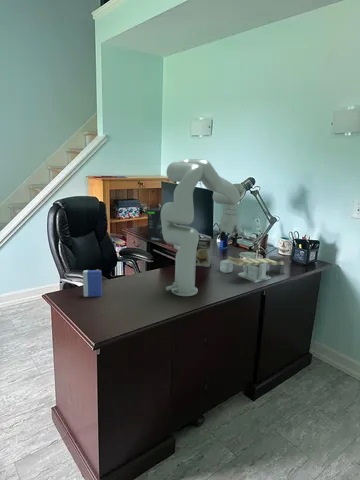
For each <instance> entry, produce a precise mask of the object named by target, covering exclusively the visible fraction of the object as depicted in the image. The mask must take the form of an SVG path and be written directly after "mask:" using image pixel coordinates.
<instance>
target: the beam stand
mask: <svg viewBox="0 0 360 480" xmlns="http://www.w3.org/2000/svg"><path fill="white" fill-rule="evenodd" d="M245 259H251V258H250V257H245ZM267 266H268V267H269V269H268V271H270V272H273V273H275V274H278V275H282V274H284V272H285V264H284V265H267V264H265V263H262V264H260V266H258V265H243V271H242V272H238V273H237V276H238V277H241V278H243V279H245V280H248V281H250V282H253V283H255V284H256V283H259V282H260V283H261V282H263V281H264V282H265V281H267V280H271V278H272V277H271V276H270V275H269V274H268V275H267V274H266V273H267Z"/></svg>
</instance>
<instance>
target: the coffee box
mask: <svg viewBox="0 0 360 480" xmlns="http://www.w3.org/2000/svg"><path fill="white" fill-rule="evenodd" d="M212 245H213V238H208V237H207V238H206V237H199V241H198V245H197V250H196V266H198V267H206V268H209V267H210V266H211V260H212V259H211V258H212Z"/></svg>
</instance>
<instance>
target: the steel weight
mask: <svg viewBox="0 0 360 480" xmlns="http://www.w3.org/2000/svg"><path fill="white" fill-rule="evenodd" d="M227 260H228V259H223V260H220V263H219V272H222V273H224V274H228V273H233V268H234V264H233V263H230V262H228V261H227Z"/></svg>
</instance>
